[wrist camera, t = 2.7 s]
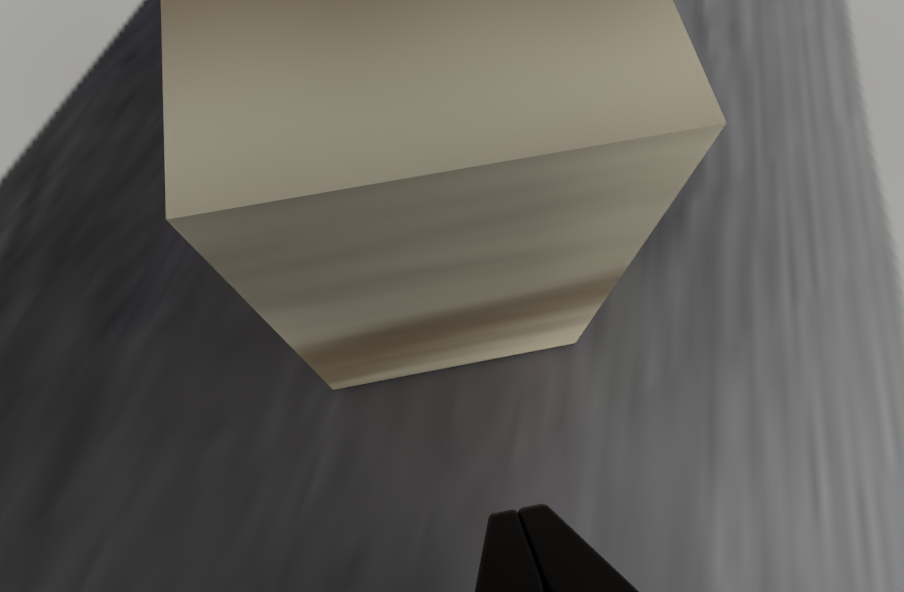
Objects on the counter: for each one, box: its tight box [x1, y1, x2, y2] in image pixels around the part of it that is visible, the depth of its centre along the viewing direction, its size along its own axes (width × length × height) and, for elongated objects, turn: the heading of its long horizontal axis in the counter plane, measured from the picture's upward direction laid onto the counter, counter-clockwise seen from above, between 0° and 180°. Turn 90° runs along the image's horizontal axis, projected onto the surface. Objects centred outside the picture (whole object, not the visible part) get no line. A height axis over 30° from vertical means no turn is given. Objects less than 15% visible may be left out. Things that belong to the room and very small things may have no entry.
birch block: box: [161, 0, 726, 390], centre depth 13 cm, size 5×7×10 cm
